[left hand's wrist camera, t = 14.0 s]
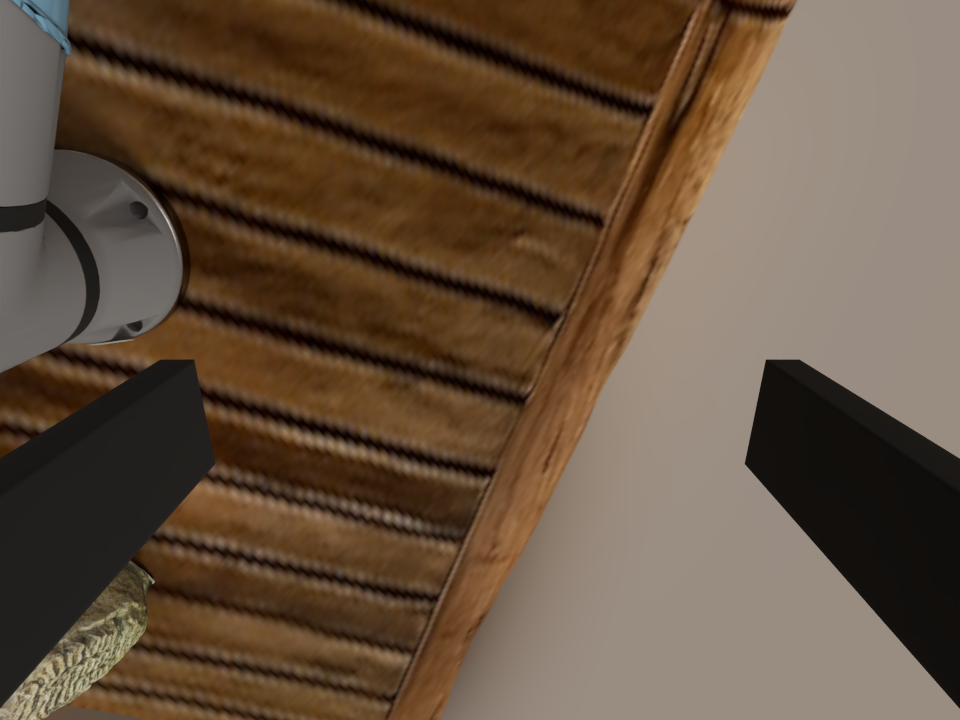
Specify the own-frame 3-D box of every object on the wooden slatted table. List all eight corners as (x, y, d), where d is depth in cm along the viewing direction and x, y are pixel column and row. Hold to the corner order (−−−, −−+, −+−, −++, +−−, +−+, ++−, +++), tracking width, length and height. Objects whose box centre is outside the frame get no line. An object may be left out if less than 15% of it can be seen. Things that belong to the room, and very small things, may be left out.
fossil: (163, 616, 58) (61, 762, 44) (-14, 560, 55) (-182, 696, 41) (182, 557, 55) (80, 692, 41) (-3, 494, 52) (-181, 617, 38)
